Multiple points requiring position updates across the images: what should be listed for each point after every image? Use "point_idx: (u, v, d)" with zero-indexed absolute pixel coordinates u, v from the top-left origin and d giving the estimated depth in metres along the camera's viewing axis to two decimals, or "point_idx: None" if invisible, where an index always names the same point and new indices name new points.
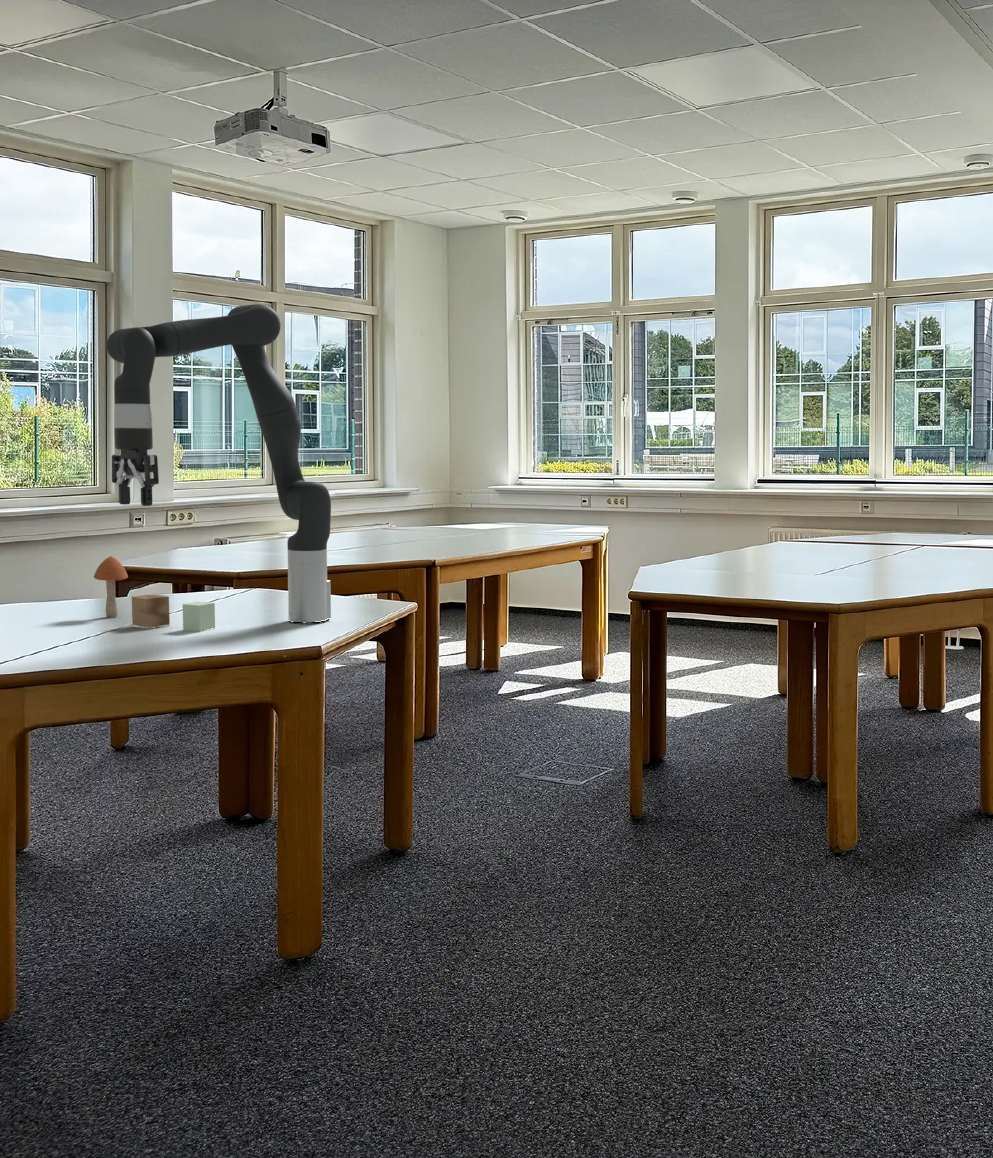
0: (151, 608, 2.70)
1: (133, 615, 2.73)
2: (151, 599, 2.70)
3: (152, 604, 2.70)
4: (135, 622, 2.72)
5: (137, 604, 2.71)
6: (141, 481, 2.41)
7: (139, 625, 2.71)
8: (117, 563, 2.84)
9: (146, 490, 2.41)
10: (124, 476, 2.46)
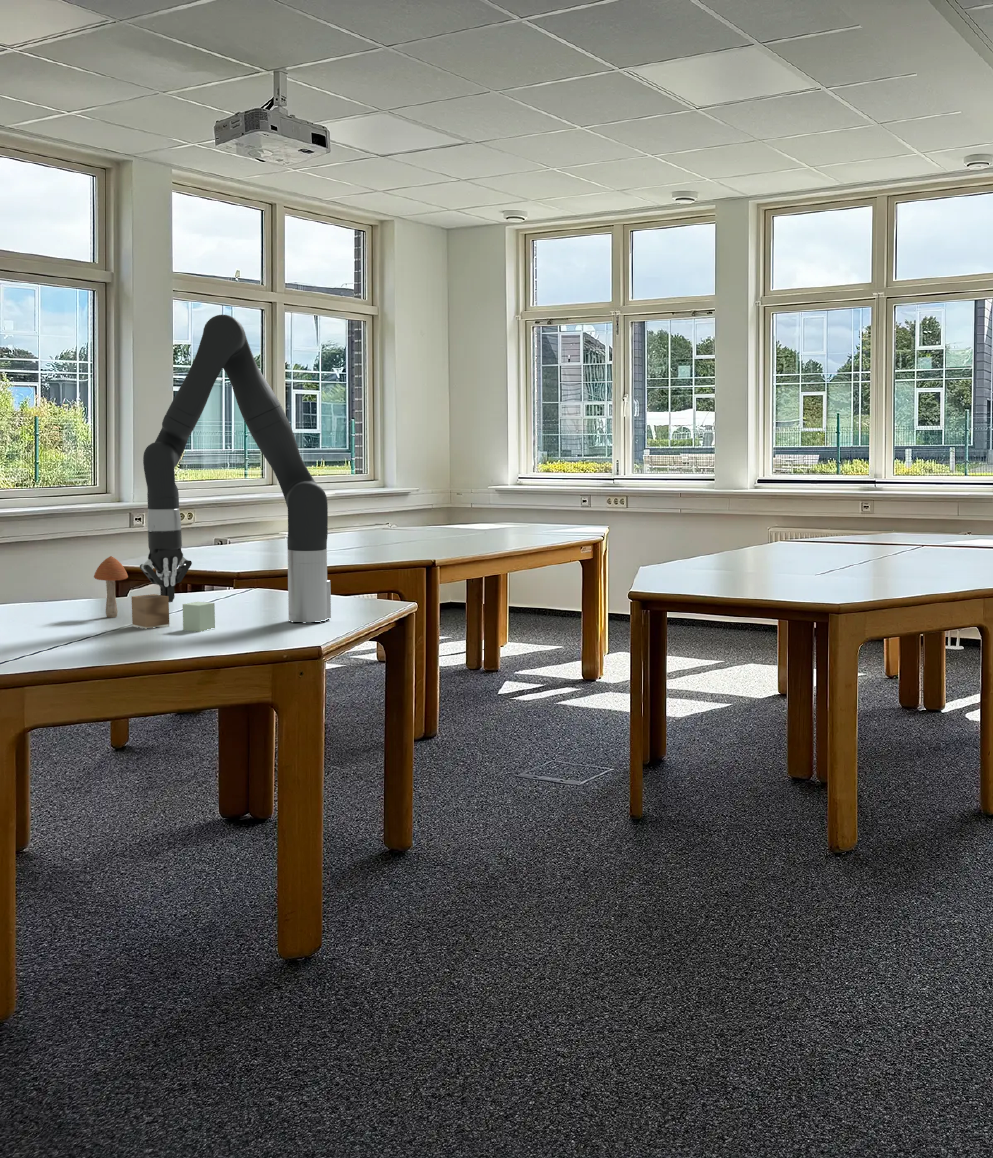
0: (151, 608, 2.70)
1: (133, 615, 2.73)
2: (150, 599, 2.69)
3: (152, 604, 2.70)
4: (135, 622, 2.72)
5: (136, 603, 2.71)
6: (173, 580, 2.76)
7: (139, 625, 2.71)
8: (117, 563, 2.84)
9: (173, 588, 2.77)
10: None
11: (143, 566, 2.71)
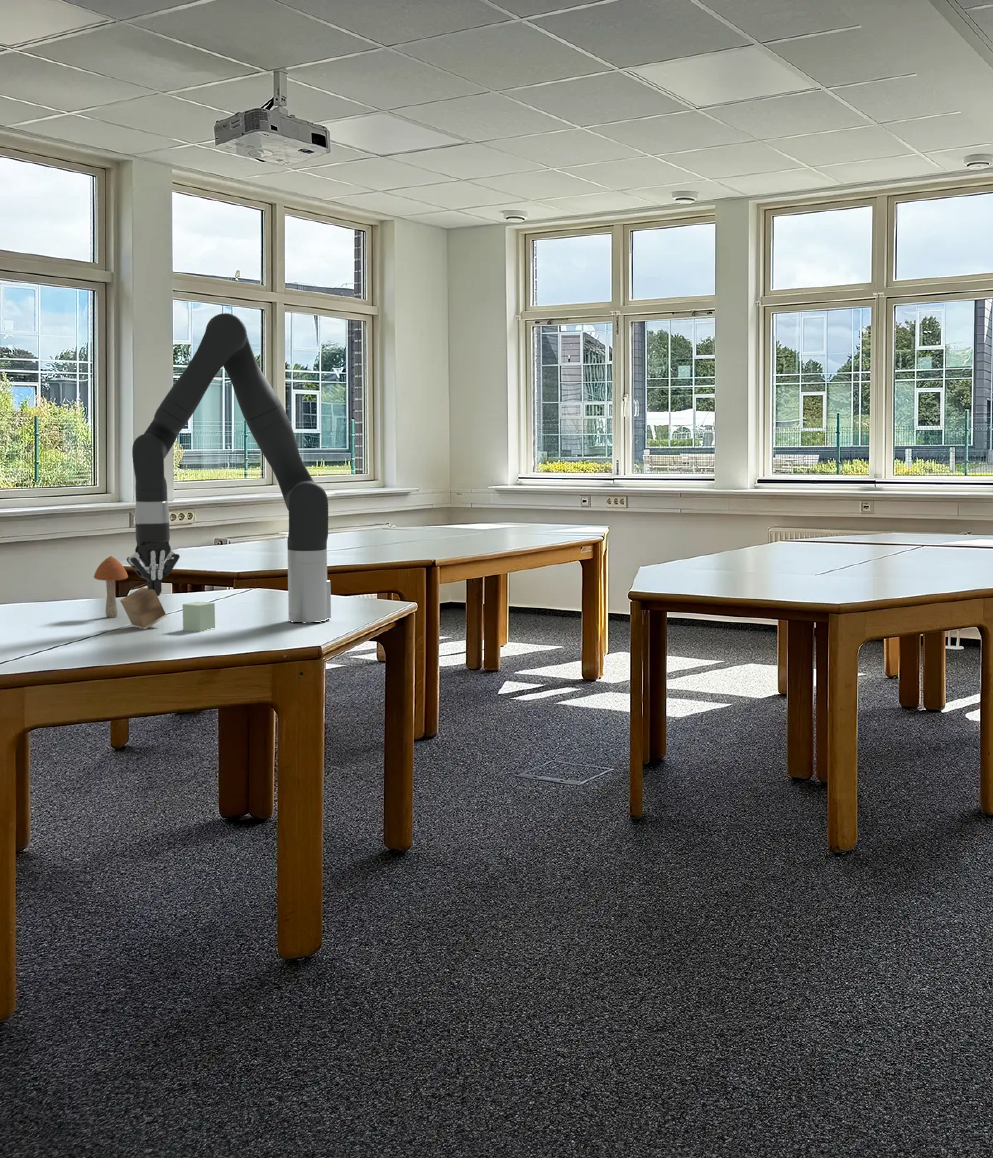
0: (141, 608, 2.68)
1: (129, 616, 2.72)
2: (138, 600, 2.67)
3: (141, 604, 2.68)
4: (133, 622, 2.72)
5: (127, 606, 2.69)
6: (160, 574, 2.73)
7: (138, 625, 2.71)
8: (117, 563, 2.84)
9: (160, 581, 2.74)
10: None
11: (130, 559, 2.68)
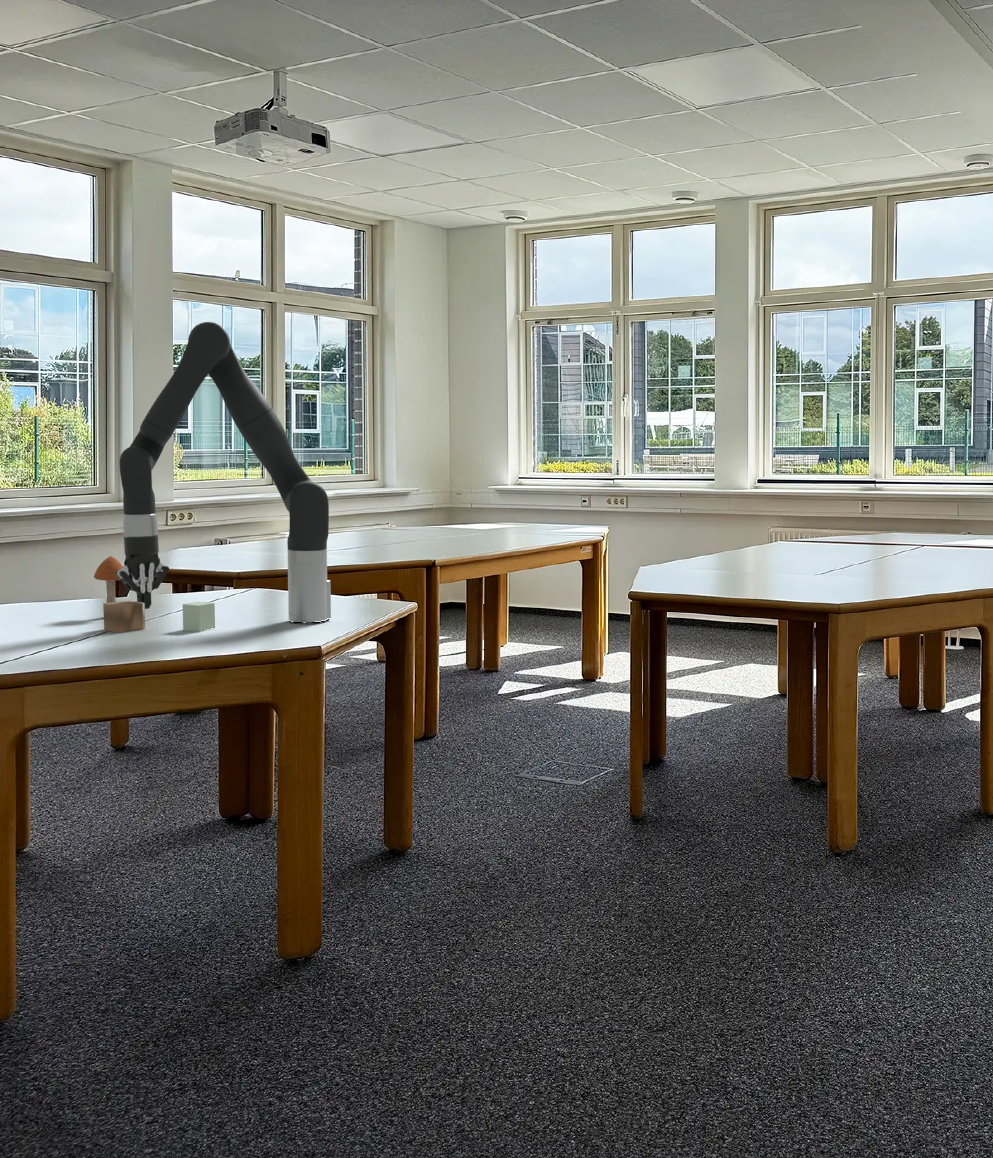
0: (125, 625, 2.66)
1: None
2: (117, 626, 2.64)
3: (122, 624, 2.65)
4: None
5: None
6: (150, 587, 2.71)
7: None
8: (117, 563, 2.84)
9: (150, 594, 2.72)
10: None
11: (119, 572, 2.66)
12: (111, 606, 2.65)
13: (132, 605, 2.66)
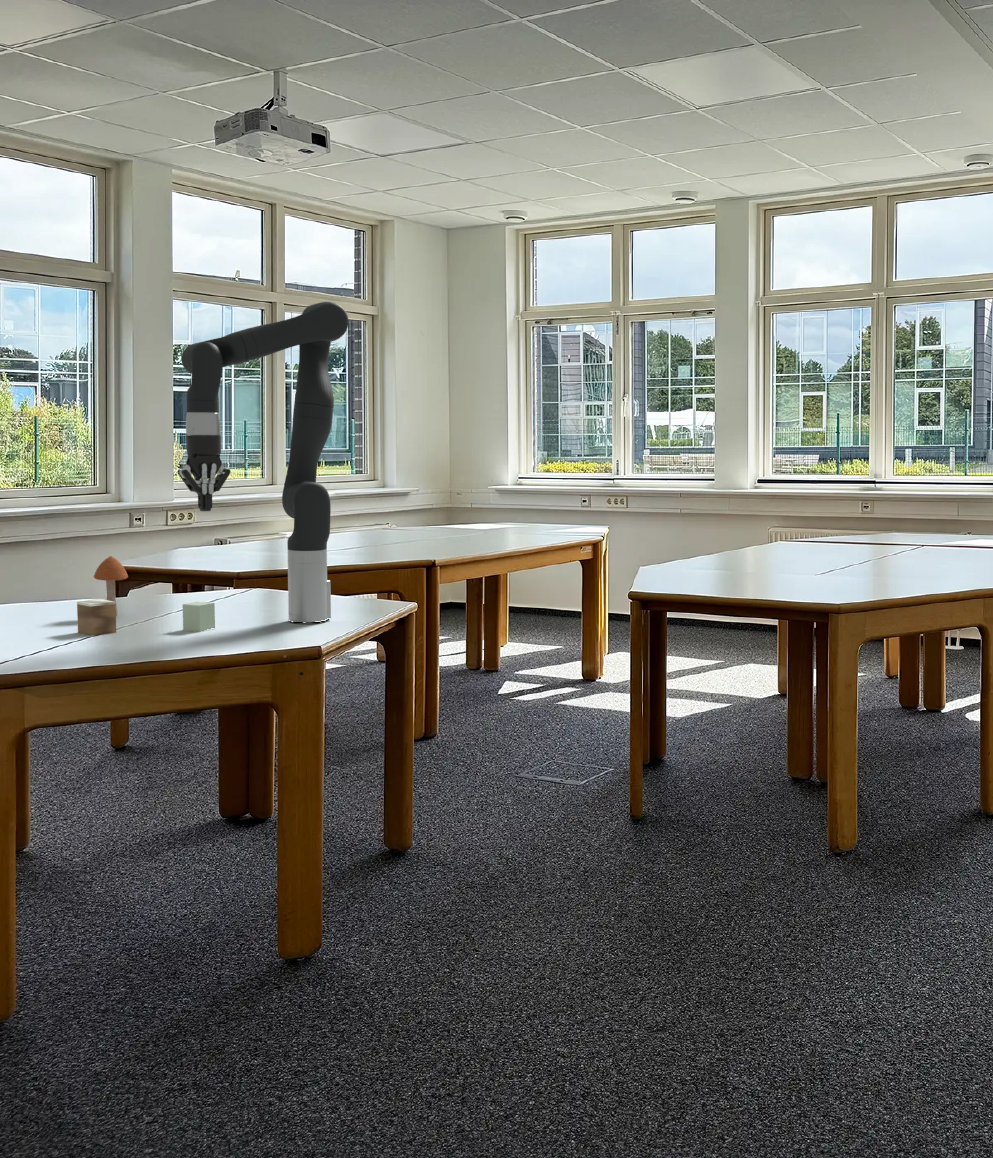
0: (110, 623, 2.63)
1: None
2: (110, 632, 2.63)
3: (109, 627, 2.63)
4: None
5: None
6: (212, 488, 2.65)
7: None
8: (117, 563, 2.84)
9: (211, 496, 2.66)
10: None
11: (181, 471, 2.60)
12: (88, 634, 2.61)
13: (91, 617, 2.60)
